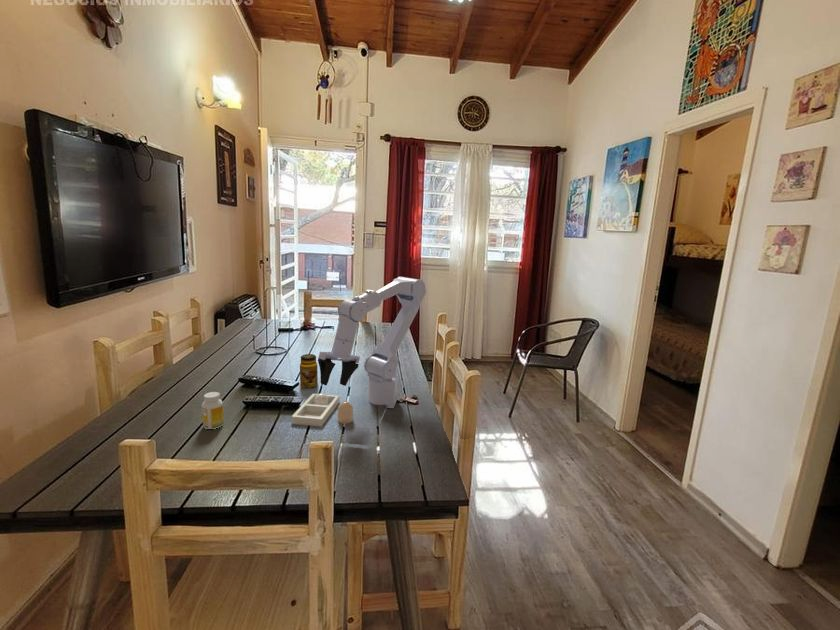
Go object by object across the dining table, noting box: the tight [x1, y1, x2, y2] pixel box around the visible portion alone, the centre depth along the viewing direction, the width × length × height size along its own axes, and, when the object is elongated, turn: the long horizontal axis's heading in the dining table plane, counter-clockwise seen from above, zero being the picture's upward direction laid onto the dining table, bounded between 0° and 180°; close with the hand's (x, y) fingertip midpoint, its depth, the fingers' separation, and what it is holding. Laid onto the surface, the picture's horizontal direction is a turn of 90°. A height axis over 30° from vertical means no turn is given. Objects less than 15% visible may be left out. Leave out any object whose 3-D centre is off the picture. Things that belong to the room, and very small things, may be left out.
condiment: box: [299, 353, 319, 390], centre depth 147 cm, size 7×8×12 cm
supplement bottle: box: [201, 391, 225, 430], centre depth 117 cm, size 5×5×10 cm
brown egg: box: [337, 401, 354, 425], centre depth 123 cm, size 4×4×7 cm
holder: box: [291, 393, 340, 427], centre depth 127 cm, size 9×17×3 cm, turn 174°
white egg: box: [314, 392, 328, 406], centre depth 131 cm, size 4×4×4 cm
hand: (333, 384), depth 122 cm, fingers open, 7 cm apart
